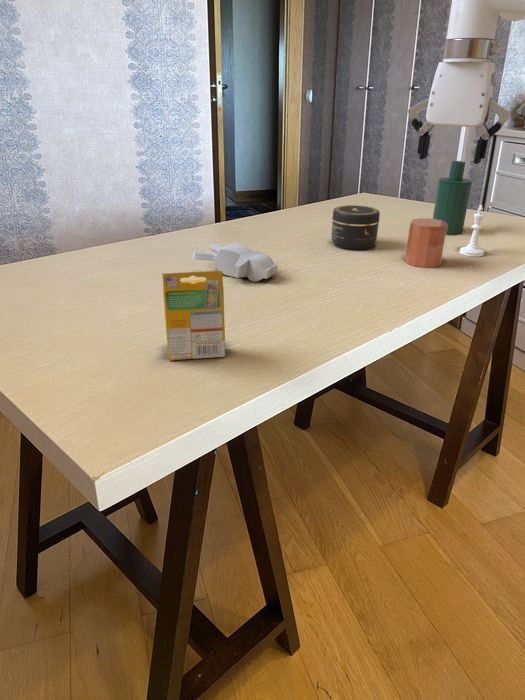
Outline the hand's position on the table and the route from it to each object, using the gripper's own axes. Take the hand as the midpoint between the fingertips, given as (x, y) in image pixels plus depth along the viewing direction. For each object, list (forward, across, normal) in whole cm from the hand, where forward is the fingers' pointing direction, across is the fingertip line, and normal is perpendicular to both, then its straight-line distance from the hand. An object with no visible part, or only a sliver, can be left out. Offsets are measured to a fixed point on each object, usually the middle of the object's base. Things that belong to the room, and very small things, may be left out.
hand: (449, 160), depth 96 cm
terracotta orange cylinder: (+19, +2, 0) cm, 19 cm away
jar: (+20, +18, -4) cm, 27 cm away
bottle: (+19, +4, -27) cm, 34 cm away
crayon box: (+20, +16, +56) cm, 62 cm away
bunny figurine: (+20, +29, +26) cm, 44 cm away
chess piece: (+20, -5, -11) cm, 23 cm away
